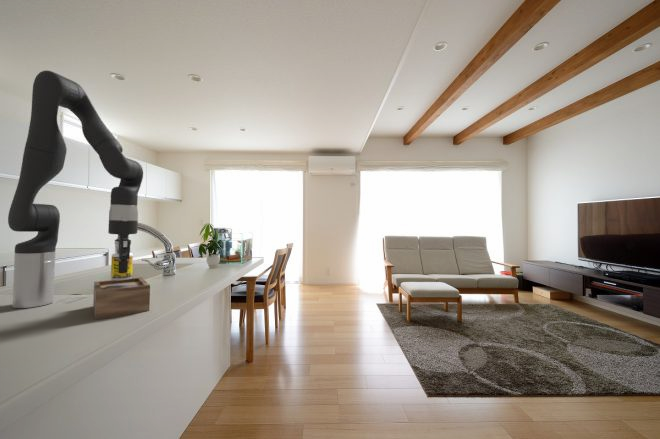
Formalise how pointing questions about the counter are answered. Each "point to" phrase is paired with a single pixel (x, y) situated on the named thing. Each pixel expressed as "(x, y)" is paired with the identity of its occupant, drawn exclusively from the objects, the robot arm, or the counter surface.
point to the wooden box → (120, 297)
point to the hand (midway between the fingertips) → (121, 271)
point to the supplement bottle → (115, 267)
